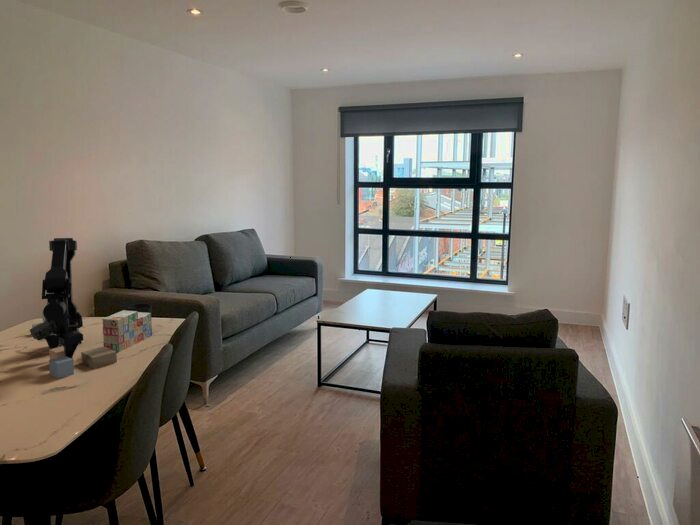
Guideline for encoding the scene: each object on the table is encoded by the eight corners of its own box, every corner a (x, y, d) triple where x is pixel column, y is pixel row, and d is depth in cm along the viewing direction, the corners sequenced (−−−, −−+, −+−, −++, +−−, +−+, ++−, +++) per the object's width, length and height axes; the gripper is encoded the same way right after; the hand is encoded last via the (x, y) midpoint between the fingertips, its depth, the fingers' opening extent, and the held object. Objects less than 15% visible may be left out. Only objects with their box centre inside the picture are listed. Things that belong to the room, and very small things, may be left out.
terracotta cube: (50, 363, 173) (49, 349, 172) (65, 359, 177) (64, 345, 176) (57, 367, 170) (56, 352, 169) (73, 362, 174) (72, 348, 174)
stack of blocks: (138, 334, 207) (137, 304, 205) (152, 335, 206) (151, 305, 204) (103, 351, 187) (102, 318, 185) (119, 352, 186) (117, 319, 184)
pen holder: (157, 328, 215) (156, 305, 213) (137, 334, 207) (136, 310, 205) (142, 324, 220) (141, 302, 218) (122, 330, 212) (121, 306, 210)
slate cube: (49, 375, 163) (48, 360, 163) (65, 370, 167) (64, 355, 167) (58, 378, 161) (57, 363, 160) (74, 374, 165) (73, 359, 164)
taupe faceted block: (81, 363, 175) (81, 352, 174) (105, 357, 181) (104, 346, 180) (93, 369, 170) (92, 357, 169) (116, 363, 176) (116, 351, 175)
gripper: (18, 312, 169) (22, 358, 172) (47, 323, 159) (50, 371, 162) (53, 306, 179) (56, 349, 181) (83, 315, 168) (85, 361, 171)
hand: (61, 357), depth 173 cm, fingers open, 9 cm apart
